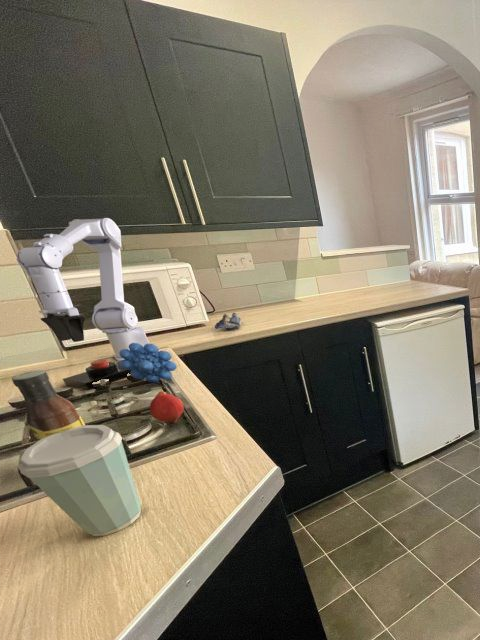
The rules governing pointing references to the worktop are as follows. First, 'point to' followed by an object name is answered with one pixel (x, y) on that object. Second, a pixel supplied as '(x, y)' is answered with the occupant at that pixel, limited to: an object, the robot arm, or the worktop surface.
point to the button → (99, 364)
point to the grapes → (147, 362)
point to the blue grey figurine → (229, 322)
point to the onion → (166, 407)
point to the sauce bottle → (45, 405)
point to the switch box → (97, 376)
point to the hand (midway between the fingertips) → (72, 340)
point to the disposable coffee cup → (85, 477)
